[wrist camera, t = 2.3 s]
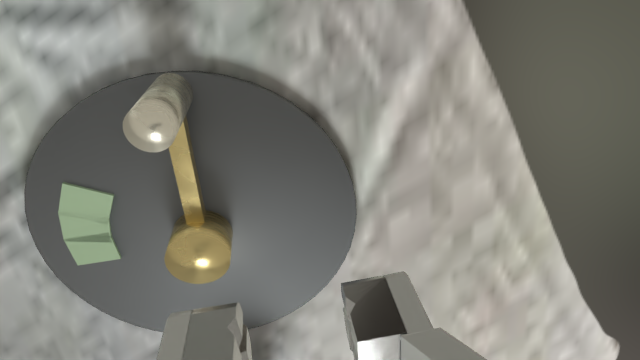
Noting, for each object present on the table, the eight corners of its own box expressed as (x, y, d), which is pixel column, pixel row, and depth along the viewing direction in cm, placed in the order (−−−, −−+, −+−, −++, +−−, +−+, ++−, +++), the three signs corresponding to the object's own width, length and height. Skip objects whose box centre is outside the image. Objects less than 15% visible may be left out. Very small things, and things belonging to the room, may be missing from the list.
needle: (236, 253, 30) (232, 312, 25) (179, 258, 30) (162, 321, 25) (206, 71, 23) (191, 103, 18) (130, 74, 23) (93, 109, 18)
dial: (350, 310, 38) (352, 319, 37) (92, 343, 35) (87, 353, 34) (359, 61, 25) (363, 65, 25) (-36, 81, 23) (-48, 86, 22)
